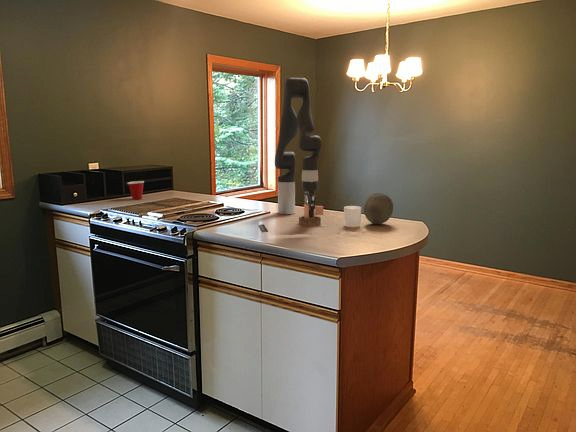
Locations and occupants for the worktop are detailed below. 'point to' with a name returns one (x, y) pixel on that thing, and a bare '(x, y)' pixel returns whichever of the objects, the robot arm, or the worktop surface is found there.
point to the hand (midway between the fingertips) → (309, 216)
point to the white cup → (352, 216)
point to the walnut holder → (309, 222)
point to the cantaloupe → (378, 208)
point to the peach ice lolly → (317, 211)
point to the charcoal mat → (263, 228)
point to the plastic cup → (136, 189)
